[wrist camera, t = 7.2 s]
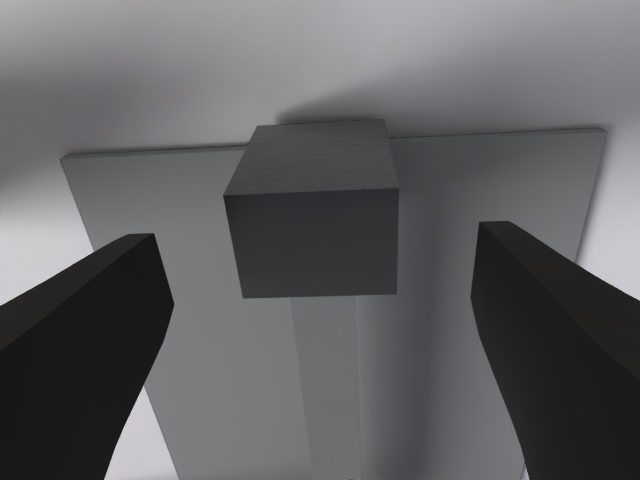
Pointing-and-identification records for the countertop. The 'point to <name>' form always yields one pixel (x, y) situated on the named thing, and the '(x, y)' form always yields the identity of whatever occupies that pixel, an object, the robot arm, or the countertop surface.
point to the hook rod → (319, 258)
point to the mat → (370, 310)
